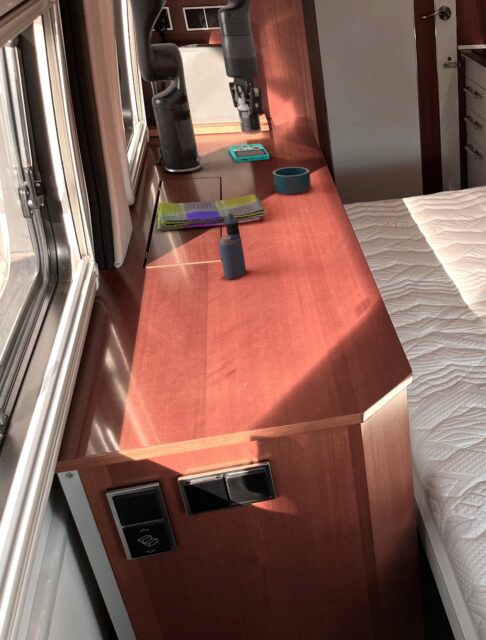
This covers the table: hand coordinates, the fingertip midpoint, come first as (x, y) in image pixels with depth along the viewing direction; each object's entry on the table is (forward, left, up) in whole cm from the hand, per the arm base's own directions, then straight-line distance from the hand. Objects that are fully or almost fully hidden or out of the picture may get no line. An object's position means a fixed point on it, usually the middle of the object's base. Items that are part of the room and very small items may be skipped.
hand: (250, 128), depth 202 cm
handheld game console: (-41, +15, -17) cm, 47 cm away
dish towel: (+10, -17, -17) cm, 26 cm away
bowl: (+2, +8, -17) cm, 19 cm away
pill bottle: (0, 0, -1) cm, 1 cm away
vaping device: (+49, -28, -17) cm, 58 cm away
